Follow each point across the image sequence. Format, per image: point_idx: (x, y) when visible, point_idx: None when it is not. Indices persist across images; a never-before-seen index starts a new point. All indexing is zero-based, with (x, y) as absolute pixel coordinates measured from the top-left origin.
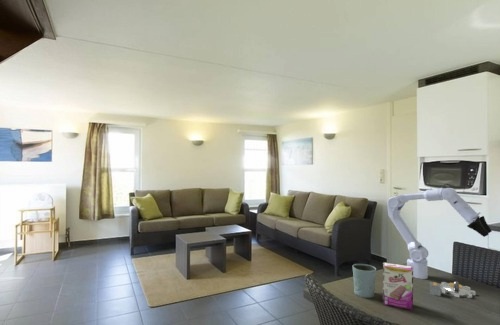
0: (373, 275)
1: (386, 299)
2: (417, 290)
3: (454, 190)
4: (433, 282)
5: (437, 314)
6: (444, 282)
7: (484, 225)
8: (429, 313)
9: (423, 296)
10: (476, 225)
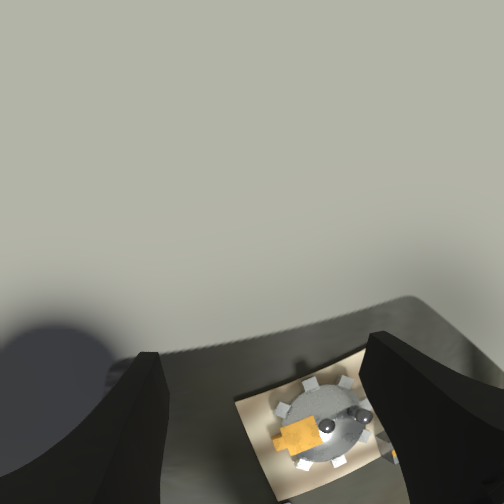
0: None
1: None
2: (386, 476)
3: None
4: (394, 457)
5: (470, 370)
6: (302, 465)
7: (137, 451)
8: (476, 380)
9: None
10: (456, 456)
